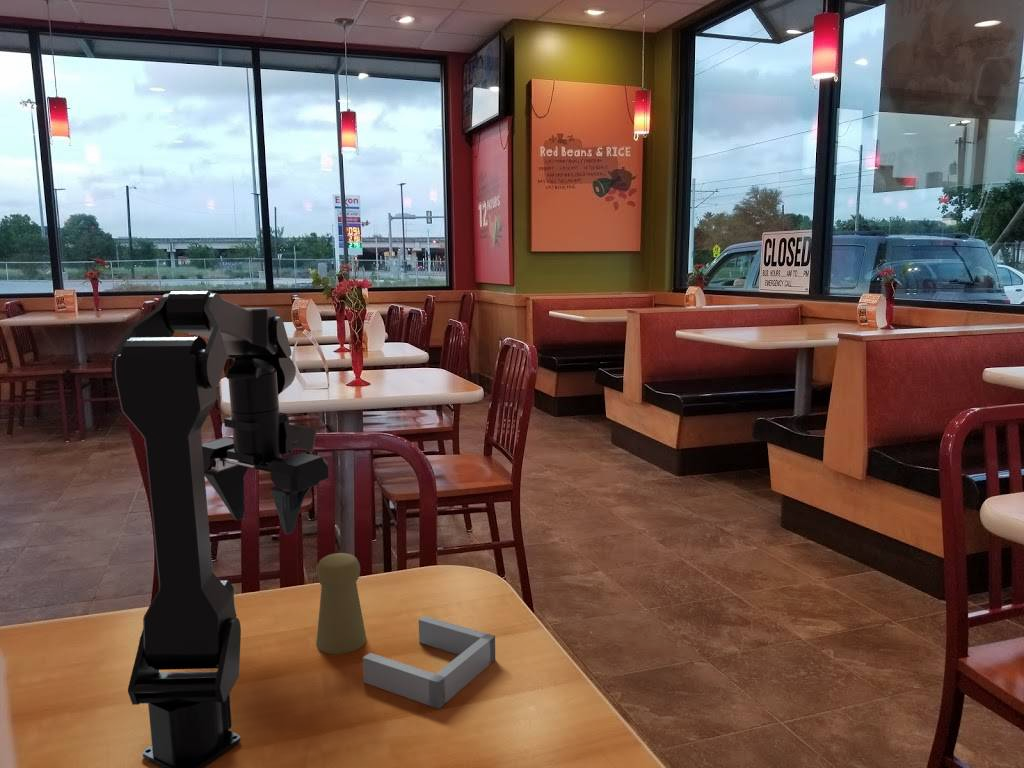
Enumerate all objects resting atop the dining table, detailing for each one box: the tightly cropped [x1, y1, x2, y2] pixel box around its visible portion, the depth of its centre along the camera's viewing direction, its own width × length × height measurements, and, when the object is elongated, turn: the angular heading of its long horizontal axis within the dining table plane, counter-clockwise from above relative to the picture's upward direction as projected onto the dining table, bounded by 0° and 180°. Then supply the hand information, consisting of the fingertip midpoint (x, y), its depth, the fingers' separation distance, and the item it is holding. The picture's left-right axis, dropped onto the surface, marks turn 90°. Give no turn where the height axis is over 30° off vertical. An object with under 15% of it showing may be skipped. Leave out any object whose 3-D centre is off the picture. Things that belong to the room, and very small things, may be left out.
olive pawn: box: [315, 552, 367, 655], centre depth 94 cm, size 6×6×11 cm
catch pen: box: [362, 615, 496, 710], centre depth 88 cm, size 11×10×3 cm
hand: (263, 526), depth 99 cm, fingers open, 9 cm apart
